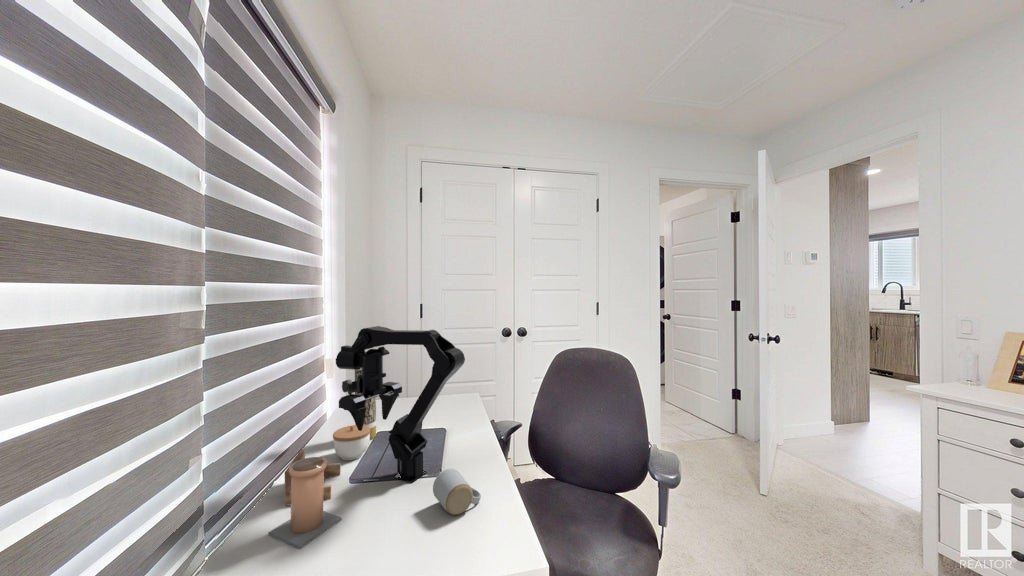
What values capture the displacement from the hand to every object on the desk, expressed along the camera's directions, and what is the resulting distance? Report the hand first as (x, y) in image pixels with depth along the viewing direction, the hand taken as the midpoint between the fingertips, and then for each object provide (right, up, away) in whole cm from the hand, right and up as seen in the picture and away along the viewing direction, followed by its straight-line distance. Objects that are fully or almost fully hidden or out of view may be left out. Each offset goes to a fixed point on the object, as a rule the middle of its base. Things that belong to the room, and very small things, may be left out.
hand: (372, 424), depth 105 cm
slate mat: (-5, -13, -25) cm, 29 cm away
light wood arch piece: (-12, -13, -9) cm, 20 cm away
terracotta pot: (-5, -12, -25) cm, 28 cm away
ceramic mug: (+27, -13, -17) cm, 35 cm away
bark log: (-11, -13, +23) cm, 29 cm away
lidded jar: (-10, -13, +9) cm, 19 cm away
